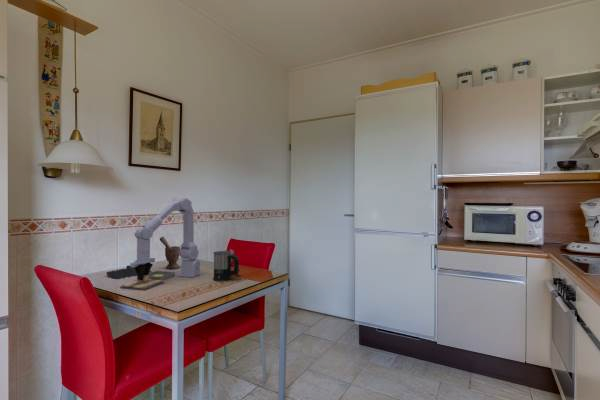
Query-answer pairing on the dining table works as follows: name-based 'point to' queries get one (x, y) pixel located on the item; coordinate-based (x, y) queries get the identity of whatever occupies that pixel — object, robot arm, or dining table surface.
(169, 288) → the dining table surface
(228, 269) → the milk frother
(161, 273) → the dish
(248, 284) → the dining table surface
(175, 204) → the robot arm
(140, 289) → the mat
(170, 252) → the mortar and pestle
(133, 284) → the lid
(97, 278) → the dining table surface
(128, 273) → the dark slate chunk
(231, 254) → the food container
